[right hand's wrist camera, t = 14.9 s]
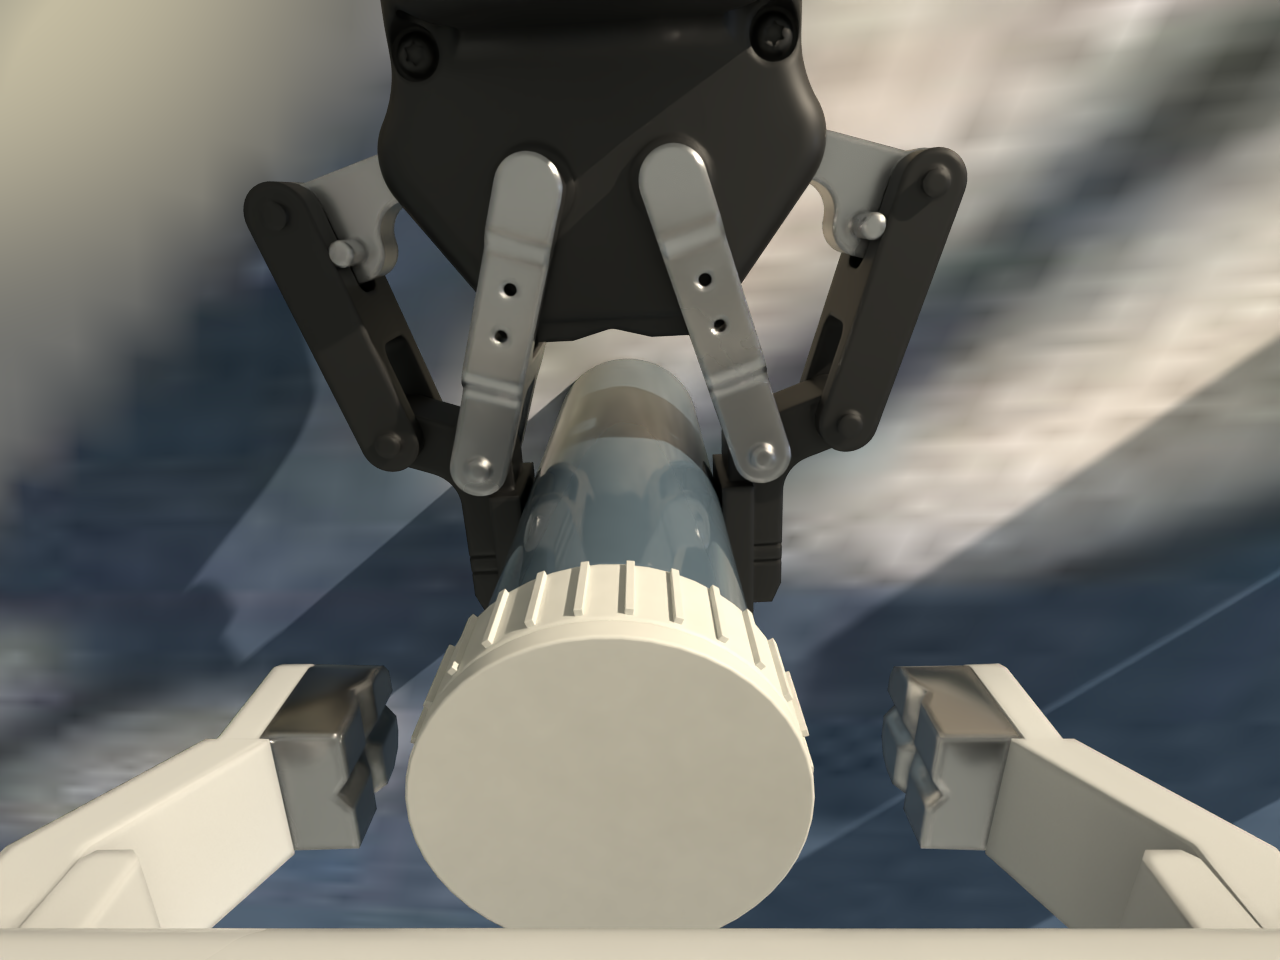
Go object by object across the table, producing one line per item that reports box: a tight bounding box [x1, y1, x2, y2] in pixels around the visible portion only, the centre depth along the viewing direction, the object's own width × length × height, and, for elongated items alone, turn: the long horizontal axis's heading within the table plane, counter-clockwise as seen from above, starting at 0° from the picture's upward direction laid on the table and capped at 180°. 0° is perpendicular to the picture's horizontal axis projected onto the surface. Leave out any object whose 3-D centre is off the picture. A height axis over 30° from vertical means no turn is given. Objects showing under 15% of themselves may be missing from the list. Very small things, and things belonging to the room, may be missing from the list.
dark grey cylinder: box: [487, 359, 748, 612], centre depth 16 cm, size 4×4×15 cm
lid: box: [405, 560, 815, 928], centre depth 10 cm, size 5×5×2 cm
